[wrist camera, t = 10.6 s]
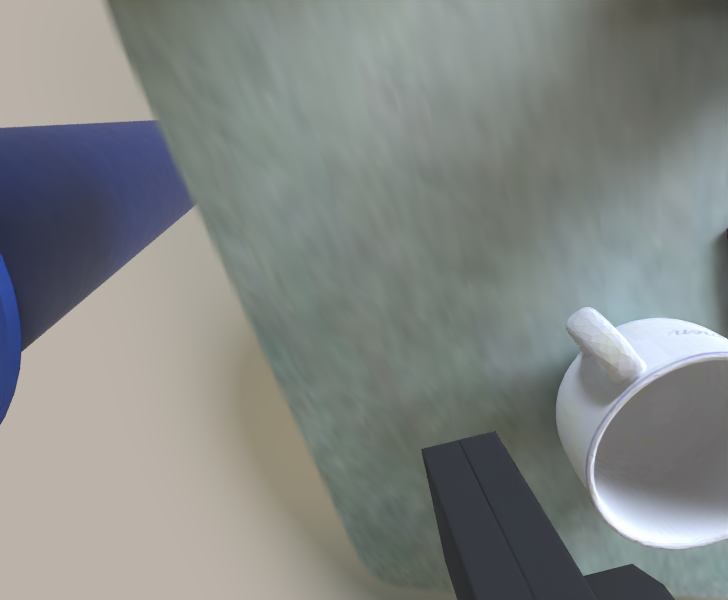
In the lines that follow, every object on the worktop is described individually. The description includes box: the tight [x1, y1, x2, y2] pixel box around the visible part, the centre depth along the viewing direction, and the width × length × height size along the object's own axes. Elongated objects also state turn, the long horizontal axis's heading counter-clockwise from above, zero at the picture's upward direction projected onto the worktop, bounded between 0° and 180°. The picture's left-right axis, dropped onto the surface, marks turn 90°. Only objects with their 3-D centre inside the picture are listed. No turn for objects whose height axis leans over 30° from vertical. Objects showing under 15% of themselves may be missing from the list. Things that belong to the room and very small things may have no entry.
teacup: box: [556, 307, 728, 550], centre depth 33 cm, size 14×11×8 cm
